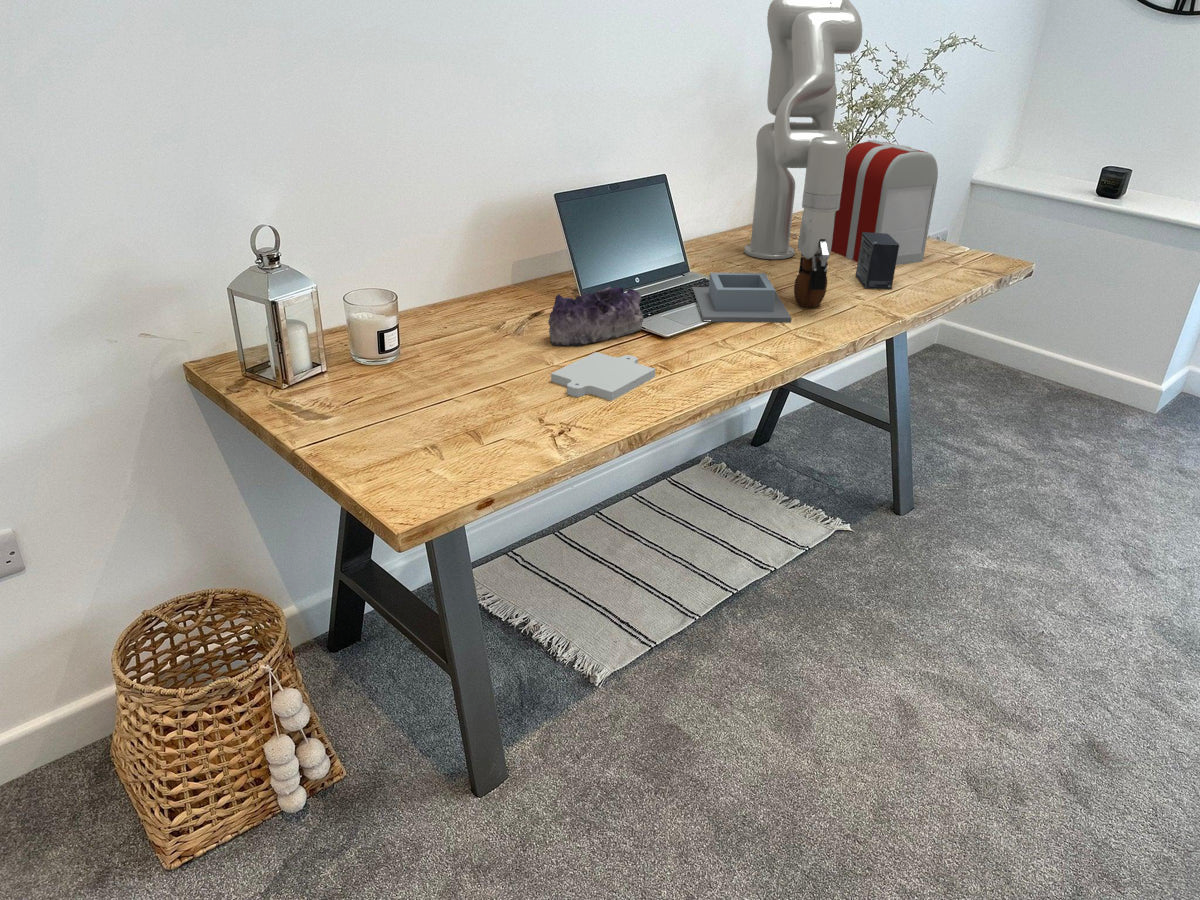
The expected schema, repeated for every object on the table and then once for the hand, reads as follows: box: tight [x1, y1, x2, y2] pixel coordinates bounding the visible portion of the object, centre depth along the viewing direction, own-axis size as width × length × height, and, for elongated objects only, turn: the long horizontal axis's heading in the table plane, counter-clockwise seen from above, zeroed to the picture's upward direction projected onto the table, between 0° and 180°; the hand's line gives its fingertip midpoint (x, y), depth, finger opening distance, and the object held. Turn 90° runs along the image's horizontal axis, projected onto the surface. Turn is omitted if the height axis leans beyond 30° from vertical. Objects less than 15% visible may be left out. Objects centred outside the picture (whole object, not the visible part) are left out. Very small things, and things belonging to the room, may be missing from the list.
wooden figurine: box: [793, 246, 828, 309], centre depth 195 cm, size 7×6×15 cm
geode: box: [548, 286, 644, 347], centre depth 179 cm, size 20×12×10 cm, turn 130°
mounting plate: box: [550, 351, 656, 401], centre depth 161 cm, size 18×13×2 cm
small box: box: [855, 232, 899, 290], centre depth 212 cm, size 11×6×10 cm, turn 179°
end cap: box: [692, 272, 792, 323], centre depth 196 cm, size 20×18×6 cm
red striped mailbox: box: [831, 139, 939, 266], centre depth 229 cm, size 16×18×27 cm
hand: (811, 282), depth 196 cm, fingers open, 9 cm apart
